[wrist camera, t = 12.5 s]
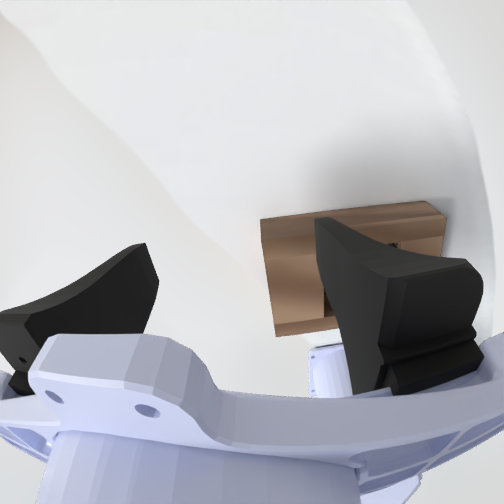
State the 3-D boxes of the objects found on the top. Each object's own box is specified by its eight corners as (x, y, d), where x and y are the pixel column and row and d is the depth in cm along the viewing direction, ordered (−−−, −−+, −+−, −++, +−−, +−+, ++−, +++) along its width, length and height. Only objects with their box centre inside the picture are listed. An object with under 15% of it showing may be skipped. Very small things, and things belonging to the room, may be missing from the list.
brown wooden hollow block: (412, 287, 25) (427, 309, 22) (273, 309, 26) (275, 337, 23) (424, 200, 21) (446, 217, 18) (260, 219, 22) (261, 240, 19)
